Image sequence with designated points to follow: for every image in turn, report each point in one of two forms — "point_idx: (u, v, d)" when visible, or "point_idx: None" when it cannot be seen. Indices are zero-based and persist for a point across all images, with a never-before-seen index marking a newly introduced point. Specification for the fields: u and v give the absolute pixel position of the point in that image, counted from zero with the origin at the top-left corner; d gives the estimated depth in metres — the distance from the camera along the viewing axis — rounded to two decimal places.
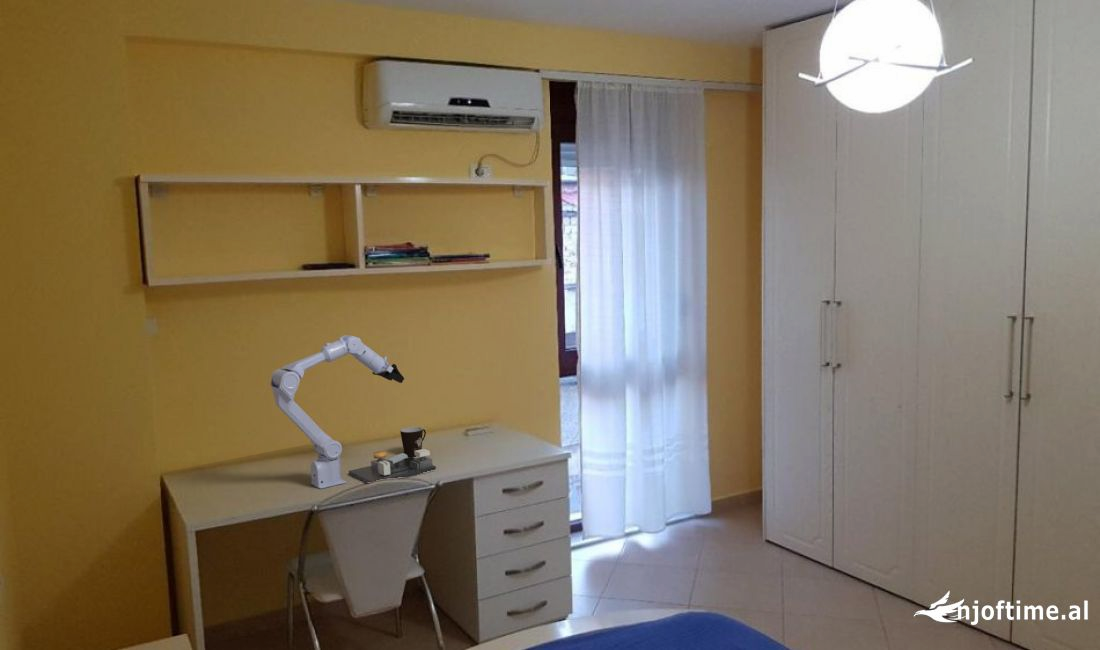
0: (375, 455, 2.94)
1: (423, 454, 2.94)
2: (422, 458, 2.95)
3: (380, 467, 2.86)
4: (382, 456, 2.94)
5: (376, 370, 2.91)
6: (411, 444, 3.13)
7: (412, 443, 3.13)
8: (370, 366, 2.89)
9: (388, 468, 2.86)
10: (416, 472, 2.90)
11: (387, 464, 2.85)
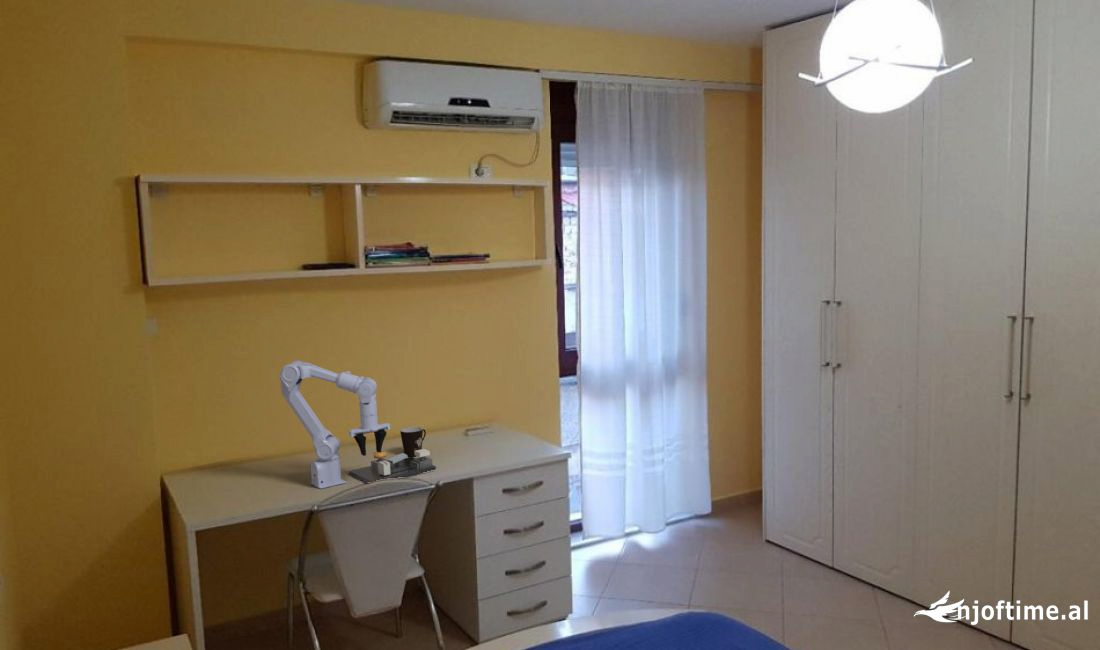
0: (375, 455, 2.94)
1: (423, 454, 2.94)
2: (422, 458, 2.95)
3: (380, 467, 2.86)
4: (382, 456, 2.94)
5: None
6: (411, 444, 3.13)
7: (412, 443, 3.13)
8: None
9: (388, 468, 2.86)
10: (416, 472, 2.90)
11: (387, 464, 2.85)
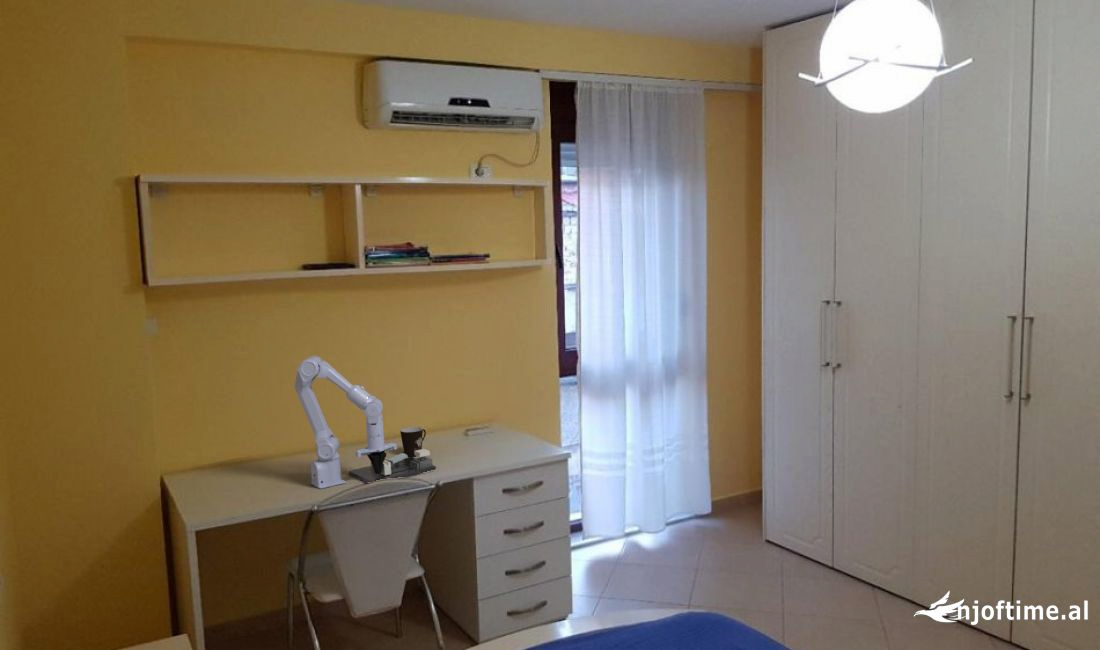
0: None
1: (423, 454, 2.94)
2: (422, 458, 2.95)
3: None
4: None
5: None
6: (411, 444, 3.13)
7: (412, 443, 3.13)
8: None
9: (389, 468, 2.86)
10: (416, 472, 2.90)
11: (388, 464, 2.85)
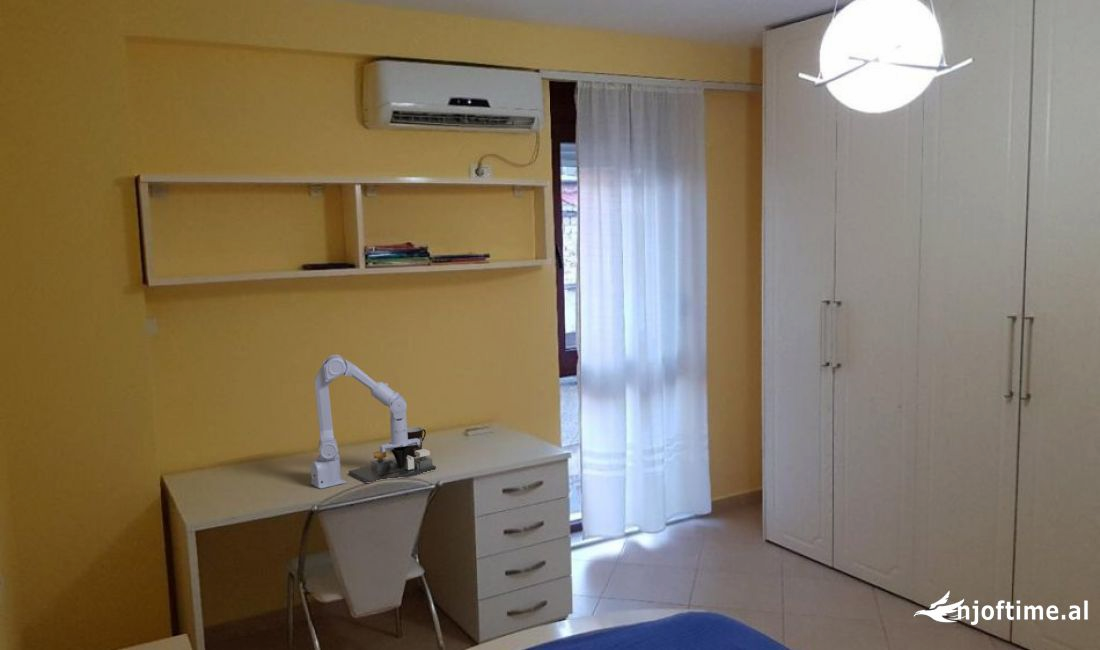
0: (375, 455, 2.94)
1: (423, 454, 2.94)
2: (422, 458, 2.95)
3: None
4: (382, 456, 2.94)
5: None
6: None
7: None
8: None
9: (412, 463, 2.91)
10: (416, 472, 2.90)
11: (411, 459, 2.91)
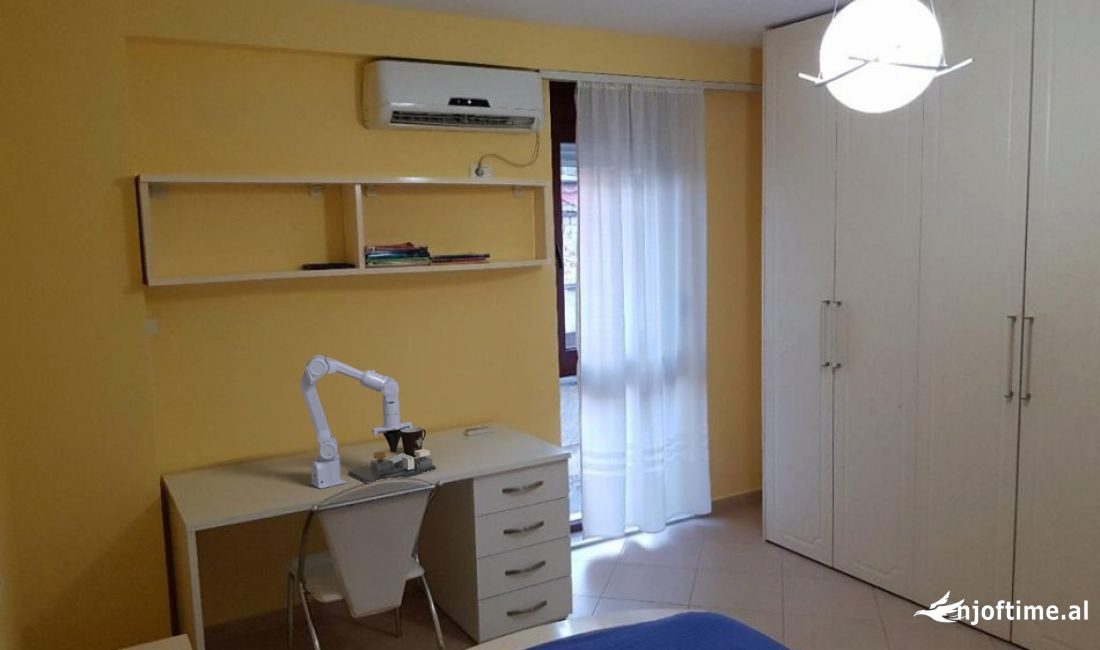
0: (375, 455, 2.94)
1: (423, 454, 2.94)
2: (422, 458, 2.95)
3: (404, 462, 2.92)
4: (382, 456, 2.94)
5: None
6: (411, 444, 3.13)
7: (412, 443, 3.13)
8: None
9: (412, 463, 2.91)
10: (416, 472, 2.90)
11: (411, 459, 2.91)
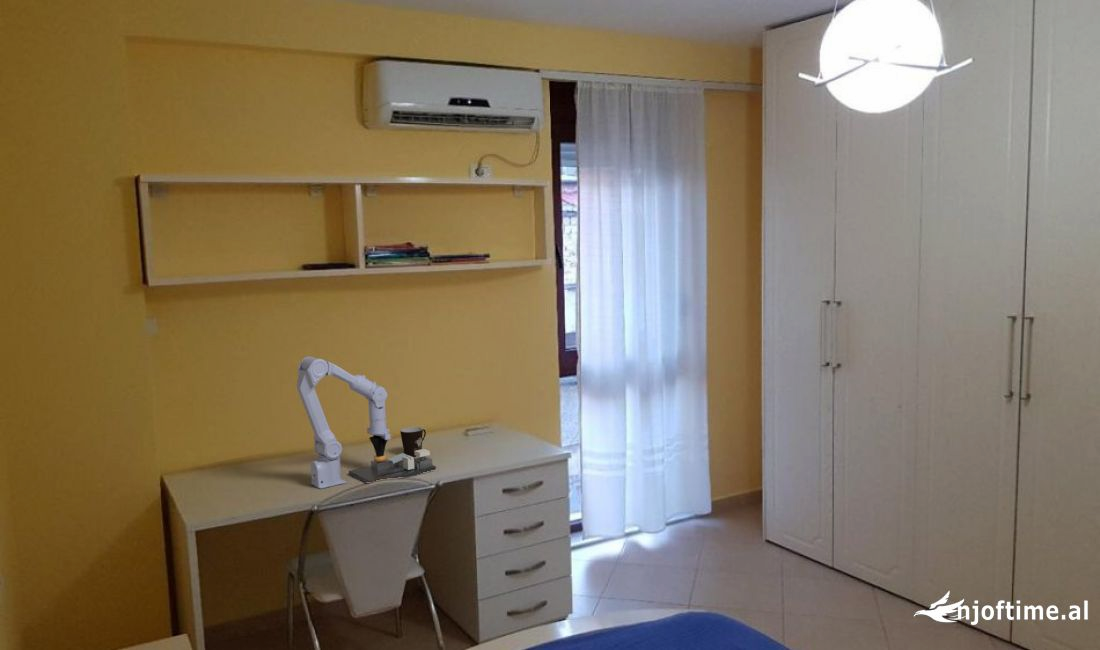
0: (375, 458, 2.94)
1: (423, 454, 2.94)
2: (422, 458, 2.95)
3: (404, 462, 2.92)
4: (382, 459, 2.94)
5: (374, 431, 2.92)
6: (411, 444, 3.13)
7: (412, 443, 3.13)
8: (373, 423, 2.91)
9: (412, 463, 2.91)
10: (416, 472, 2.90)
11: (411, 459, 2.91)
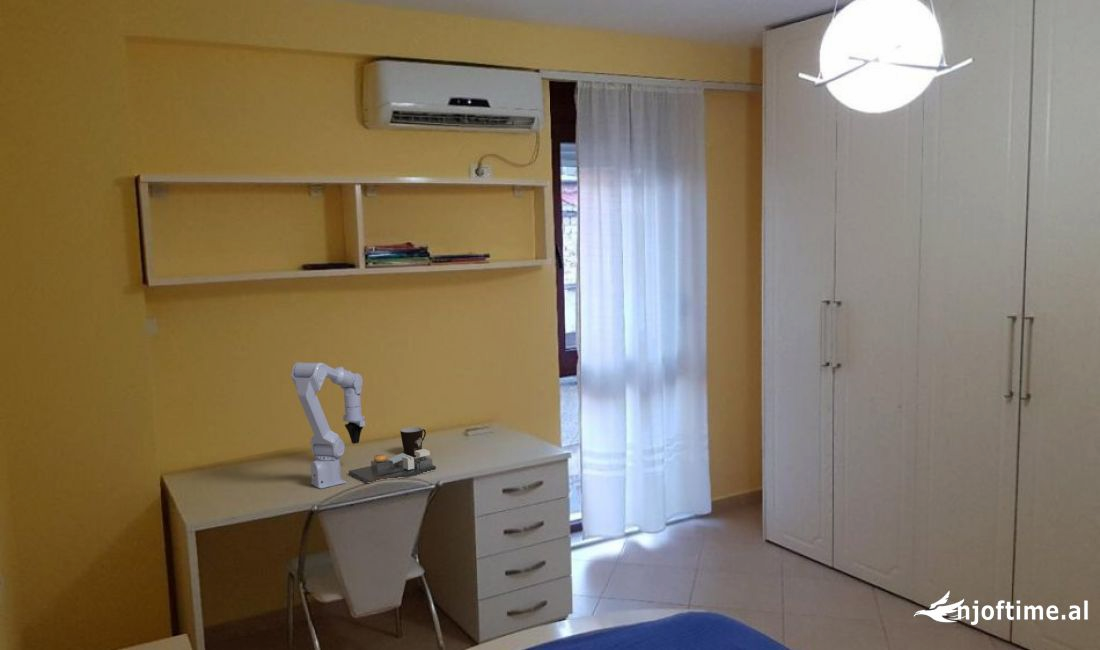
0: (375, 458, 2.94)
1: (423, 454, 2.94)
2: (422, 458, 2.95)
3: (404, 462, 2.92)
4: (382, 459, 2.94)
5: (349, 418, 2.95)
6: (411, 444, 3.13)
7: (412, 443, 3.13)
8: (348, 411, 2.95)
9: (412, 463, 2.91)
10: (416, 472, 2.90)
11: (411, 459, 2.91)
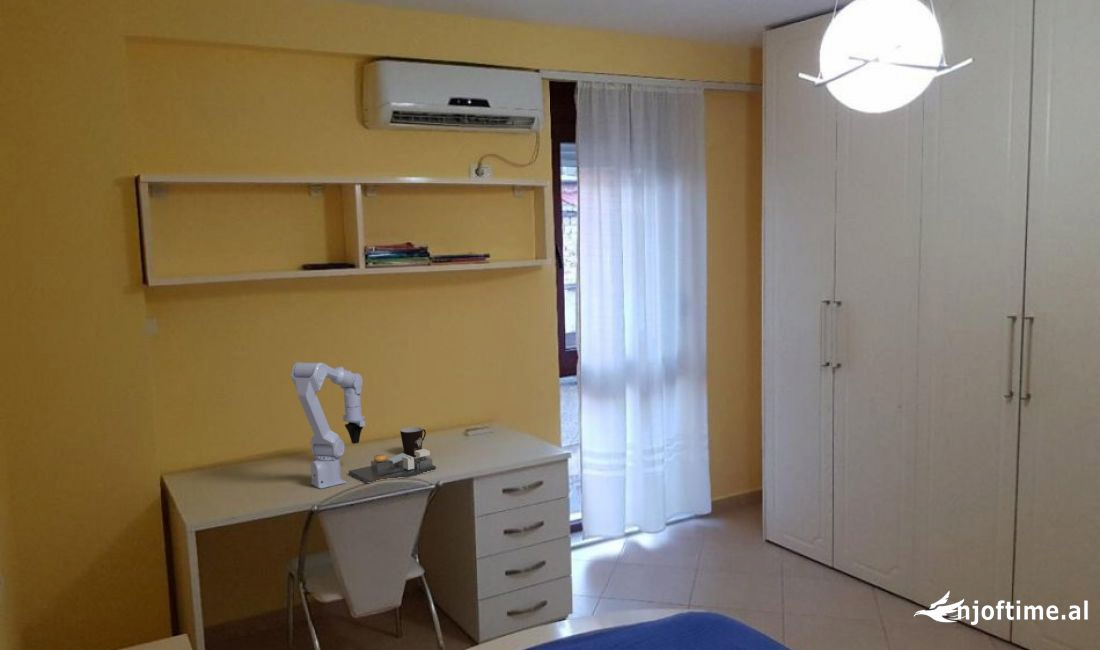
0: (375, 458, 2.94)
1: (423, 454, 2.94)
2: (422, 458, 2.95)
3: (404, 462, 2.92)
4: (382, 459, 2.94)
5: (349, 418, 2.95)
6: (411, 444, 3.13)
7: (412, 443, 3.13)
8: (348, 411, 2.95)
9: (412, 463, 2.91)
10: (416, 472, 2.90)
11: (411, 459, 2.91)
